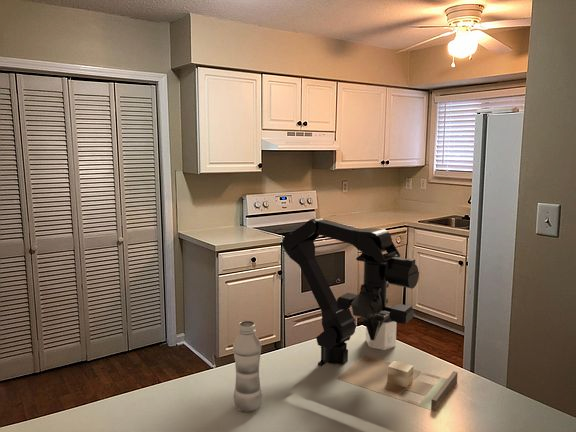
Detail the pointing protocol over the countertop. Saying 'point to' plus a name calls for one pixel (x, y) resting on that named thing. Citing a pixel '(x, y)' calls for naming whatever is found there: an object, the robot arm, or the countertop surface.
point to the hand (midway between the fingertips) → (373, 339)
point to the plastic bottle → (247, 368)
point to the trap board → (375, 378)
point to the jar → (384, 336)
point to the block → (400, 373)
